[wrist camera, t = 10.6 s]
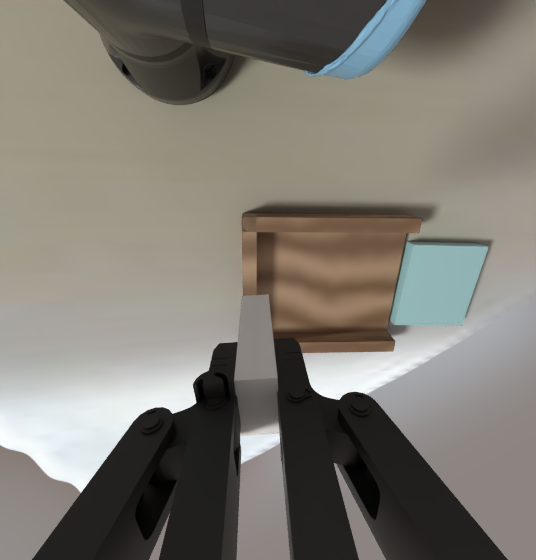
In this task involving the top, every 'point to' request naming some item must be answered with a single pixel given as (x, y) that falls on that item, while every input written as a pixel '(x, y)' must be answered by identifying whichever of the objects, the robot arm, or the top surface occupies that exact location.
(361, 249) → the walnut box
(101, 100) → the top surface
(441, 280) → the cover plate
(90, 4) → the robot arm
